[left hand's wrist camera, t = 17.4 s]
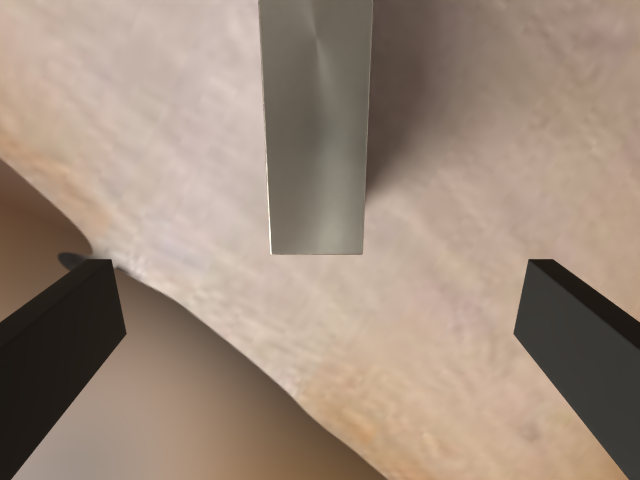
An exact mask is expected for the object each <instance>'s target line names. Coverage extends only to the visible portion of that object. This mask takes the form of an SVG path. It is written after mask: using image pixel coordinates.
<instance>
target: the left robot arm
mask: <svg viewBox="0 0 640 480" xmlns="http://www.w3.org/2000/svg"><path fill="white" fill-rule="evenodd" d="M125 335H126V329H125V324H124V319H123V314H122V309H121V304H120V299H119V294H118V290H117V285H116V280H115V275H114V270H113V265H112V260H111V259H87V260H85V261H84V262H83V263H81V264H80V265H78V266H77V267H76V268H74V269H73V270H72V271H70V272H69V273H67V274H66V275H65V276H63V277H62V278H61V279H59V280H58V281H57V282H55V283H54V284H52V285H51V286H50V287H48V288H47V289H45V290H44V291H43V292H41V293H40V294H39V295H37V296H36V297H35V298H33V299H32V300H30V301H29V302H28V303H26V304H25V305H23V306H22V307H21V308H19V309H18V310H17V311H15V312H14V313H12V314H11V315H10V316H8V317H7V318H6V319H4V320H3V321H1V322H0V480H11V479H12V478H13V476H14V475H15V474H16V473H17V471H18V470H19V469H20V468H21V466H22V465H23V464H24V463H25V461H26V460H27V459H28V458H29V456H30V455H31V454H32V453H33V451H34V450H35V449H36V447H37V446H38V445H39V444H40V442H41V441H42V440H43V439H44V437H45V436H46V435H47V434H48V432H49V431H50V430H51V429H52V427H53V426H54V425H55V423H56V422H57V421H58V420H59V418H60V417H61V416H62V415H63V413H64V412H65V411H66V410H67V408H68V407H69V406H70V405H71V403H72V402H73V401H74V400H75V398H76V397H77V396H78V394H79V393H80V392H81V391H82V389H83V388H84V387H85V386H86V384H87V383H88V382H89V381H90V379H91V378H92V377H93V376H94V374H95V373H96V372H97V370H98V369H99V368H100V367H101V365H102V364H103V363H104V362H105V360H106V359H107V358H108V357H109V355H110V354H111V353H112V352H113V350H114V349H115V348H116V347H117V345H118V344H119V343H120V341H121V340H122V339H123V338H124V336H125ZM514 335H515V336H516V338H517V339H518V340H519V342H520V343H521V344H522V345H523V347H524V348H525V349H526V350H527V352H528V353H529V354H530V355H531V357H532V358H533V359H534V360H535V362H536V363H537V364H538V365H539V367H540V368H541V369H542V371H543V372H544V373H545V374H546V376H547V377H548V378H549V379H550V381H551V382H552V383H553V384H554V386H555V387H556V388H557V389H558V391H559V392H560V393H561V394H562V396H563V397H564V398H565V400H566V401H567V402H568V403H569V405H570V406H571V407H572V408H573V410H574V411H575V412H576V413H577V415H578V416H579V417H580V418H581V420H582V421H583V422H584V424H585V425H586V426H587V427H588V429H589V430H590V431H591V432H592V434H593V435H594V436H595V437H596V439H597V440H598V441H599V442H600V444H601V445H602V446H603V447H604V449H605V450H606V451H607V453H608V454H609V455H610V456H611V458H612V459H613V460H614V461H615V463H616V464H617V465H618V466H619V468H620V469H621V470H622V471H623V473H624V474H625V475H626V476H627V478H628V479H629V480H640V322H639V321H637V320H636V319H634V318H633V317H632V316H630V315H629V314H628V313H626V312H625V311H623V310H622V309H621V308H619V307H618V306H617V305H615V304H614V303H612V302H611V301H610V300H608V299H607V298H606V297H604V296H603V295H601V294H600V293H599V292H597V291H596V290H595V289H593V288H592V287H590V286H589V285H588V284H586V283H585V282H584V281H582V280H581V279H579V278H578V277H577V276H575V275H574V274H573V273H571V272H570V271H568V270H567V269H566V268H564V267H563V266H562V265H560V264H559V263H557V262H556V261H555V260H553V259H529V260H528V265H527V270H526V275H525V280H524V285H523V289H522V294H521V299H520V304H519V309H518V314H517V319H516V324H515V329H514Z"/></svg>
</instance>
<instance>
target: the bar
mask: <svg viewBox="0 0 640 480" xmlns="http://www.w3.org/2000/svg"><path fill="white" fill-rule="evenodd" d="M373 3H374V0H258V4H259V26H260V47H261V68H262V89H263V110H264V131H265V152H266V173H267V194H268V215H269V236H270V254H271V255H362V254H363V236H364V213H365V190H366V166H367V143H368V120H369V96H370V73H371V49H372V26H373Z"/></svg>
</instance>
